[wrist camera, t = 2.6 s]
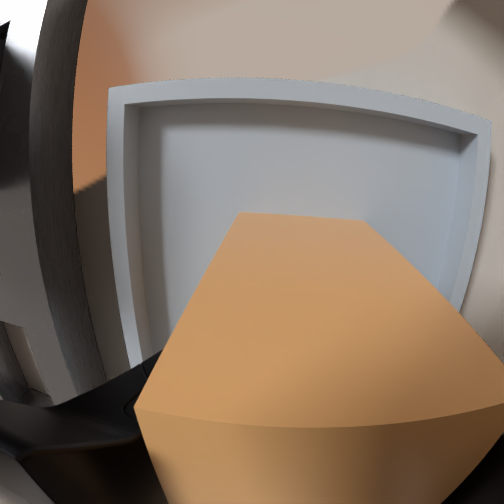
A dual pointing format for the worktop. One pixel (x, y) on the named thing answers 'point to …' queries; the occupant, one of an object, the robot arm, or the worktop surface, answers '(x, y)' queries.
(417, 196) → the tray
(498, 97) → the worktop surface
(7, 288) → the grey slotted frame
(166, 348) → the orange block
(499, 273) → the worktop surface
